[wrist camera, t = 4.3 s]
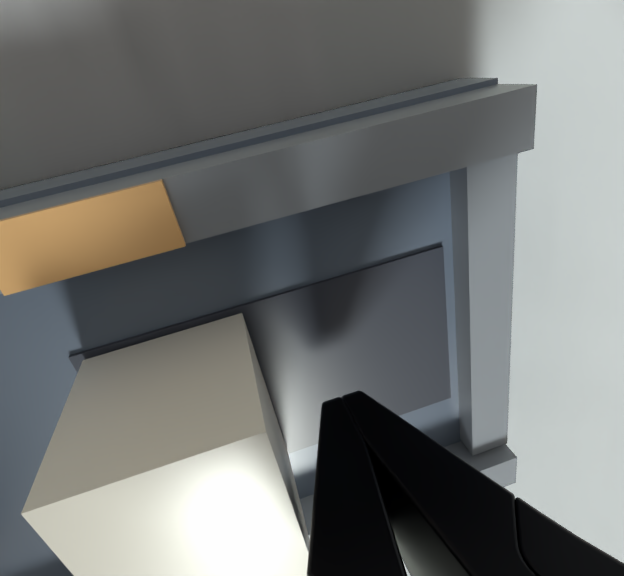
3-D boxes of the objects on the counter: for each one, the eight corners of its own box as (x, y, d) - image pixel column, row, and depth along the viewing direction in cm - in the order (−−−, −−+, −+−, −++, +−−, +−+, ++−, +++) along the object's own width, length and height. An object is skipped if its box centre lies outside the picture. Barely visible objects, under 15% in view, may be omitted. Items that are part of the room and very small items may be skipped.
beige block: (287, 453, 10) (323, 594, 7) (161, 496, 10) (148, 662, 7) (242, 313, 8) (266, 431, 5) (82, 360, 8) (20, 513, 5)
